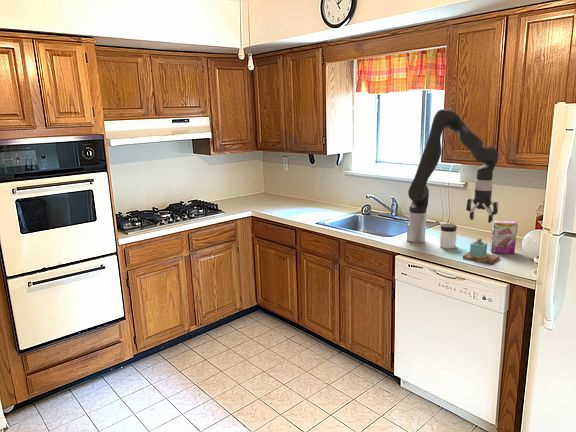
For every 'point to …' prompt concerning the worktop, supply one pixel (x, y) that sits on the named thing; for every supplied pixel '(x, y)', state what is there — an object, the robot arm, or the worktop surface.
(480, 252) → the collar
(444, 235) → the jar
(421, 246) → the worktop surface
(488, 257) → the post stand
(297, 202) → the worktop surface
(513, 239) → the candy bar box
